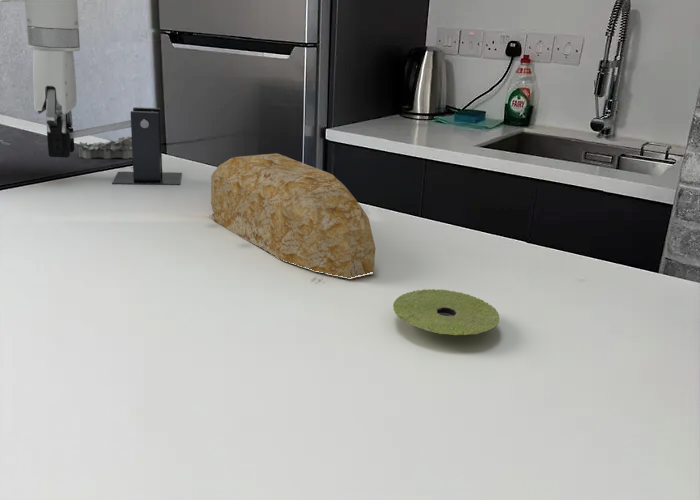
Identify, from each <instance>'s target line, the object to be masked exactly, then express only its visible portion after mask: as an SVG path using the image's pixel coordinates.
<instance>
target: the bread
mask: <svg viewBox="0 0 700 500" xmlns="http://www.w3.org/2000/svg"><path fill="white" fill-rule="evenodd" d="M210 184H211V185H210V204H211V207H212V211H213V213H212V218H213V221H214V222H216V223H217V224H219V225H220V226H222V227H224V228H225V229H227V230H229V231H231V232H232V233H234V234H235V235H237V234H238V235H237V236H239V237H241V238H242V237H243V239H244V240H246V241H247V240H248V241H247V242H249V241H250V242H249V243H251V244H252V243H253V244H252V245H254V244H255V245H254V246H256V245H257V246H259V247H261V248H263V249H264V250H266V251H268V252H269V253H271V254H273V255H275V256H276V257H278V258H280V259H282V260H284V261H287V262H290V263H294V264H296V265H299V266H302V267H306V268H309V269H312V270H314V271H319V272H323V273H328V274H332V275H338V276H343V277H347V278H351V277H355V276H358V275H363V274H367V273H370V272H373V273H375V272H374V271H375V259H376V245H375V240H374V236H373V232H372V226H371V221H370V218H369V216H368V214H367V213H366V212H365V210H364V209H363V207H362V206H361V205H360V203H359V202H358V200H357V199H356V198H355V196H354V195H353V194H352V193H351V192H350V190H349V189H348V188H347V187H346V185H345V184H344V183H342V181H340V180H339V179H338V178H337V177H336V176H335V175H334V174H332V173H330V172H327V171H325V170H323V169H320V168H317V167H314V166H311V165H310V164H306V163H303V162H302V161H299V160H295V159H293V158H290V157H288V156H286V155H282V154H280V153H278V152H277V153H276V152H275V153H266V154H254V155H243V156H233V157H231V158H229V159H228V160H225V161H224V162H223V163H221V164H219V165H217V167H216V169H215V170H214V171H213V173H212V174H211V175H210ZM257 246H256V247H257ZM259 247H258V248H259ZM261 248H260V249H261ZM263 249H262V250H263ZM264 250H263V251H264ZM266 251H265V252H266ZM268 252H267V253H268ZM269 253H268V254H269ZM271 254H270V255H271ZM273 255H272V256H273ZM276 257H275V258H276ZM278 258H277V259H278Z"/></svg>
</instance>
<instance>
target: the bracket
mask: <svg viewBox="0 0 700 500" xmlns="http://www.w3.org/2000/svg"><path fill="white" fill-rule="evenodd" d="M152 111H153V112H152ZM129 112H130V120H131V127H130V131H131V132H130V133H131V137H132V156H133V157H132V171H117V172H116V174H115V176H114V178H113V180H112V182H111V185H124V186H125V185H127V186H129V185H130V186H131V185H132V186H135V185H136V186H138V185H139V186H143V185H145V186H181V182H182V176H183V173H182V172H176V171H175V172H174V171H173V172H170V171H169V172H168V171H167V172H166V171H165V172H164V171H163V151H162V149H163V147H162V146H163V145H162V117H161V108H160V107H139V106H138V107H137V106H136V107H135V106H134V107H133V108H132V110H131V111H129Z"/></svg>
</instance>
